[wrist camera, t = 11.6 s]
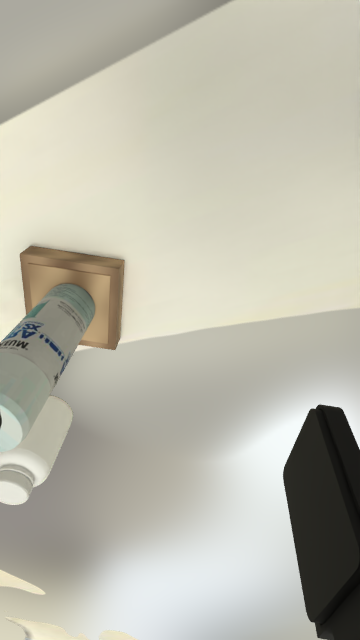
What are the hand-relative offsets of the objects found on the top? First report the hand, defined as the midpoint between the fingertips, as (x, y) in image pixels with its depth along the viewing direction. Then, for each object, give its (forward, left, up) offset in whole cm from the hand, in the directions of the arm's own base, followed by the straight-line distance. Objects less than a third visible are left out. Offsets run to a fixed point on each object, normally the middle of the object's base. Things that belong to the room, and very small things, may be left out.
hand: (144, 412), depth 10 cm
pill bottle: (+18, +38, -34) cm, 54 cm away
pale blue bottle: (+13, +15, -31) cm, 36 cm away
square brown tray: (+13, +15, -34) cm, 39 cm away
